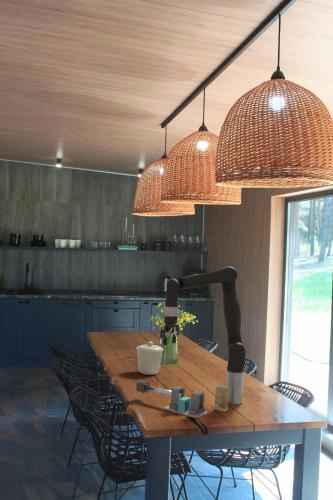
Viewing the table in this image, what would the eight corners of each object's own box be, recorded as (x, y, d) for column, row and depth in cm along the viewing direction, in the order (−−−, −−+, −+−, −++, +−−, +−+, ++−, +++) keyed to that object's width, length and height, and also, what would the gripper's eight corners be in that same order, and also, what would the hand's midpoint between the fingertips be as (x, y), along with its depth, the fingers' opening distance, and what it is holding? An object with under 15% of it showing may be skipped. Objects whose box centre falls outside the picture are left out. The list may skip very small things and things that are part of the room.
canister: (161, 377, 328) (163, 344, 328) (133, 375, 329) (135, 343, 329) (162, 370, 346) (164, 340, 346) (136, 369, 347) (137, 338, 347)
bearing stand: (175, 404, 270) (176, 383, 270) (207, 413, 258) (208, 391, 259) (163, 409, 261) (164, 387, 261) (195, 418, 250) (197, 395, 250)
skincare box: (213, 409, 266) (215, 386, 266) (217, 407, 269) (219, 384, 269) (224, 412, 262) (226, 388, 262) (228, 410, 266) (229, 386, 266)
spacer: (183, 407, 264) (184, 396, 264) (190, 408, 262) (190, 398, 262) (177, 409, 259) (177, 398, 259) (183, 411, 257) (184, 400, 257)
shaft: (136, 391, 276) (136, 381, 276) (141, 389, 280) (142, 380, 280) (177, 402, 260) (178, 392, 260) (183, 400, 264) (183, 390, 264)
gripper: (172, 313, 289) (171, 341, 289) (157, 314, 277) (156, 344, 277) (183, 314, 284) (182, 343, 284) (169, 316, 273) (167, 346, 273)
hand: (169, 344), depth 281 cm, fingers open, 8 cm apart
